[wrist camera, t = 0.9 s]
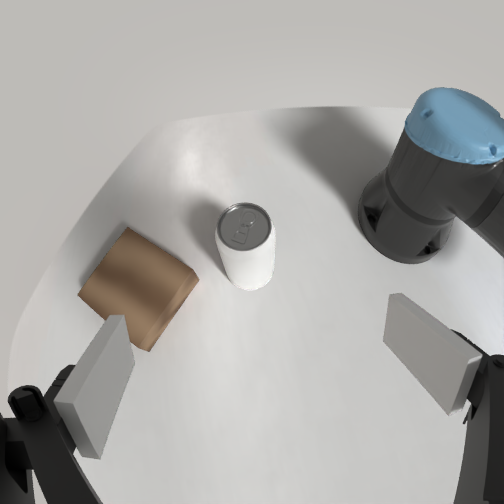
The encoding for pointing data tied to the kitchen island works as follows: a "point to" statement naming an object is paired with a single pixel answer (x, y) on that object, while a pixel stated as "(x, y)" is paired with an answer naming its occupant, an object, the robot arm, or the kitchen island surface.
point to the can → (246, 245)
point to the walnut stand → (139, 287)
